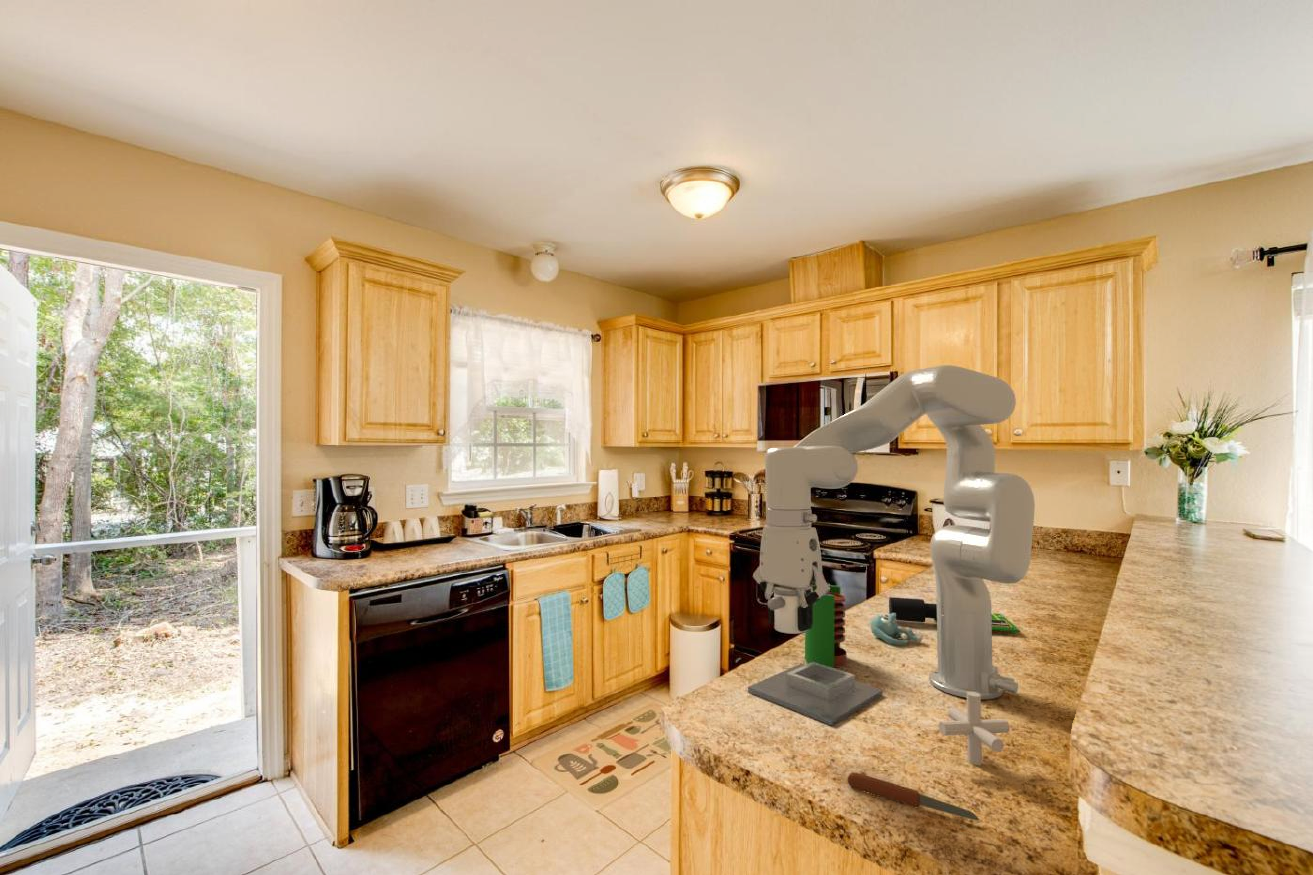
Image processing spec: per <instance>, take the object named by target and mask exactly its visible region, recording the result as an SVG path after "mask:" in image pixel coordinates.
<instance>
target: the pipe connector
mask: <svg viewBox="0 0 1313 875" xmlns="http://www.w3.org/2000/svg"><path fill="white" fill-rule="evenodd" d="M981 700H982V699H981V695H980V694H979V693H977V692H972V691H968V692H967V698H966V713H965V712H963V711H962V710H961V709H959V708H958V707H956V706H951V707H950V708H948V712H947V714H948V717H949V718H951V719H952V720H949V721H947V720H946V721H939V722H938V730H939V732H940V734H941V735H942V736H961V735H967V762H969V764H971V765H974V766H982V765H983V754H982V753H983V751H982V749H983V748H982V747H983V746H982V743H983V744H984V745H986V746H987V747H988V748H990V749H991V750H992V751H994V752H996V753H999V752H1001V751H1003V749H1004V745H1005V744H1004V741H1002V740H1001V739H1000V738H999V737H997V736H996V735H995V734H1000V733H1001V734H1003V733H1005V734H1006V733H1010V729H1011V728H1010V724H1009V722H1008V720H1006V719H1004V718H997V719H996V718H995V719H993V718H992V719H982V708H981V707H982V704H981V703H982V702H981Z"/></svg>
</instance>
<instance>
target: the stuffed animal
mask: <svg viewBox="0 0 1313 875" xmlns="http://www.w3.org/2000/svg"><path fill="white" fill-rule="evenodd" d="M895 618H896V613H891V614H885V615H883V614H881V613H879V614H878V615H876V616H875V617H873V618H872V619H871V620H870V625H869V626H870V631H871V633H872V634H873V636H874V637H876V638H879V639H881V640H883V641H884V642H885V643H887V644H888V643H889V645H892V646H899V645H900V646H904V645H905V646H906V645H908V644H909V641H911V640H913V641H915V642H916V643H919V644H921V643H922V640H923V635H921V634H920V633H919V634H918V633H914V631H913V630H912V628H910V627H909V626H907V627H906V626H905V627H899V624H898V622H897V621H898V620H897V619H895ZM895 637H896V638H895ZM898 638H901V639H898Z"/></svg>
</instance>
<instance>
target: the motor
mask: <svg viewBox="0 0 1313 875" xmlns="http://www.w3.org/2000/svg"><path fill="white" fill-rule="evenodd" d="M822 576H823V578H824V579H825V576H824V573H823V572H822ZM828 585H829V587H830V591H829V592H827V593H826V594H825V595H823V596H822V597H821V598H820V599H819V600H818V601H817V602H816V603H815V604H814V605H813V624H812V628H811V629H808V630H806V631H805V632H804V660H805V661H806V662H807V664H809V663H811V662H815V663H819V664H822V665H825V666H828V667H831V668H834V669H835V668H841V667H844V666H846V665H847V650H845V648H843V647H841V643H844V642H845V640H846V635H845V633H846V628H845V625H846V620H845V619H844V618H845V617H846V612H845V611H844V610H846V604H845V602H846V596H844V595H843V594H841V586H838V585H832V584H828ZM812 589H813V592H814V591H815V590H816V589H817V586H812Z"/></svg>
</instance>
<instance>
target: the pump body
mask: <svg viewBox="0 0 1313 875" xmlns="http://www.w3.org/2000/svg"><path fill="white" fill-rule="evenodd" d="M773 592H774V598H773V599H770V600H768V599H767V608H768V607H769V609H771V610H774V621H775V623H774V629H775V631H777V632H780V633H784V634H792V635H793V634H794V635H795V634H797V635H798V634H803V633H805V631H806V630H805V631H803V632H802V631H799V630H798V607H800V606H801V604H800V600H799V597H798V593H797V589H796V588H791V587H786V586H781V585H776V586H773ZM805 593H806V592H805Z"/></svg>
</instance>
